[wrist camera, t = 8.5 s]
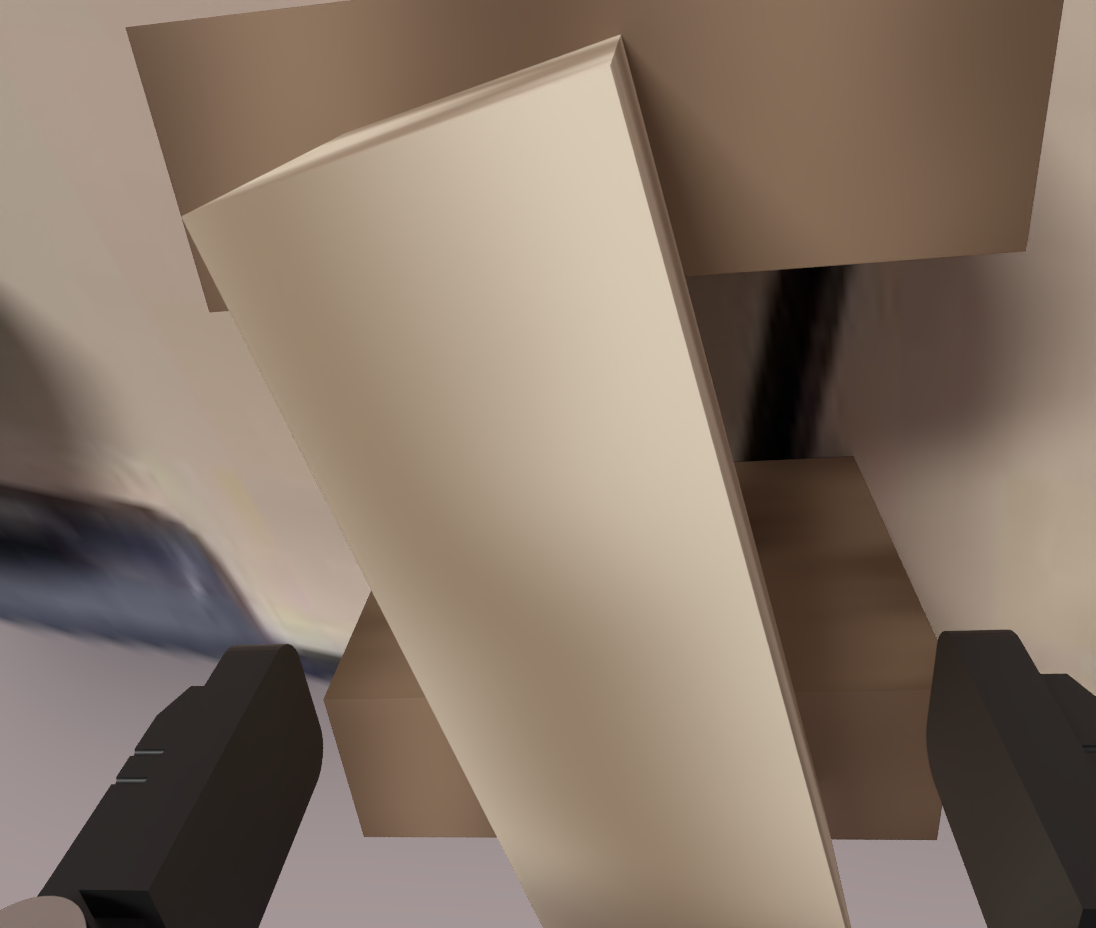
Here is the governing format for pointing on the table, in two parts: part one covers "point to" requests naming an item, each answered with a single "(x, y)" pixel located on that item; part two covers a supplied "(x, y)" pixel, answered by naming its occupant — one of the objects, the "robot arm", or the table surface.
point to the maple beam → (542, 489)
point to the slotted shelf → (704, 249)
